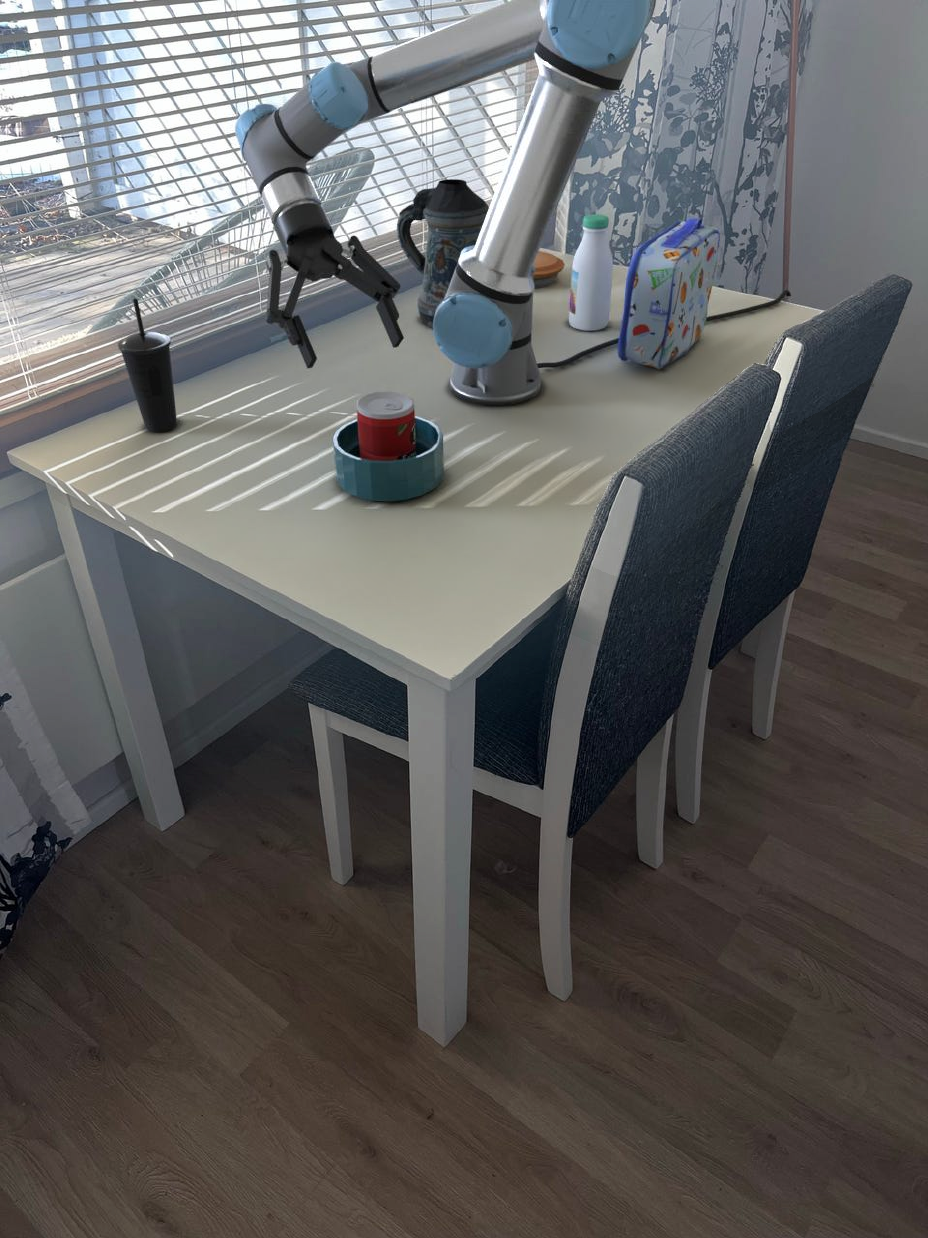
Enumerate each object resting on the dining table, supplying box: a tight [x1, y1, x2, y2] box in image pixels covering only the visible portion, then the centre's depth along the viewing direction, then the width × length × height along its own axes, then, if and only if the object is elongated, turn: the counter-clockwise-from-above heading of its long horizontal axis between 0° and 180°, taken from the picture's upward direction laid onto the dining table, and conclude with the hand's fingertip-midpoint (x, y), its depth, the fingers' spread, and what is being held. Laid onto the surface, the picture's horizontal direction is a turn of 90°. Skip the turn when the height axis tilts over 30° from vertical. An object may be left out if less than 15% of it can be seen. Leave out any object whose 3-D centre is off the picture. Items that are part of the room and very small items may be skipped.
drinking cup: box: [117, 298, 178, 433], centre depth 146 cm, size 8×8×20 cm
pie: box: [534, 250, 566, 289], centre depth 208 cm, size 16×16×5 cm
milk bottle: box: [568, 213, 614, 332], centre depth 181 cm, size 8×8×20 cm
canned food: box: [356, 391, 416, 461], centre depth 134 cm, size 8×8×11 cm
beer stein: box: [396, 178, 490, 329], centre depth 183 cm, size 16×19×25 cm
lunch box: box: [617, 217, 721, 370], centre depth 170 cm, size 28×10×22 cm, turn 152°
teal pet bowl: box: [332, 415, 445, 502], centre depth 136 cm, size 15×15×6 cm
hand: (356, 353), depth 134 cm, fingers open, 13 cm apart
